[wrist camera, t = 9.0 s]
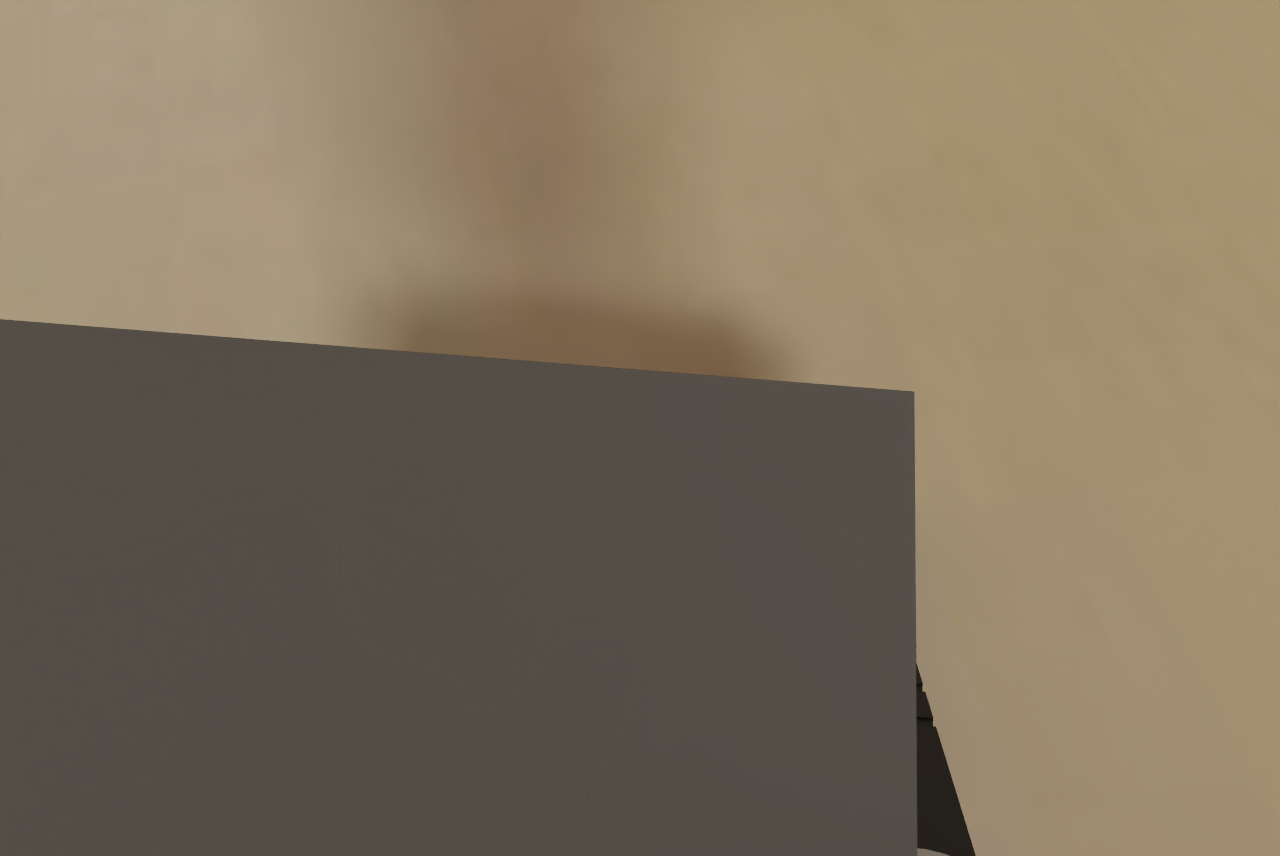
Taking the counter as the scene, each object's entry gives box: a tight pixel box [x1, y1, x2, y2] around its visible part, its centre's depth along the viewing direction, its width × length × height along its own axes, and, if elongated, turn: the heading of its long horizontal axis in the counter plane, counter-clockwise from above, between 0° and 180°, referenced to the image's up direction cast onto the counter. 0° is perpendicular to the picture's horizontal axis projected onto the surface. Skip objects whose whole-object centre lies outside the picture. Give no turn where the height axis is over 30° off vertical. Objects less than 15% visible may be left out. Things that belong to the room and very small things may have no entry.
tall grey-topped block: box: [0, 319, 917, 856], centre depth 9 cm, size 4×4×11 cm
